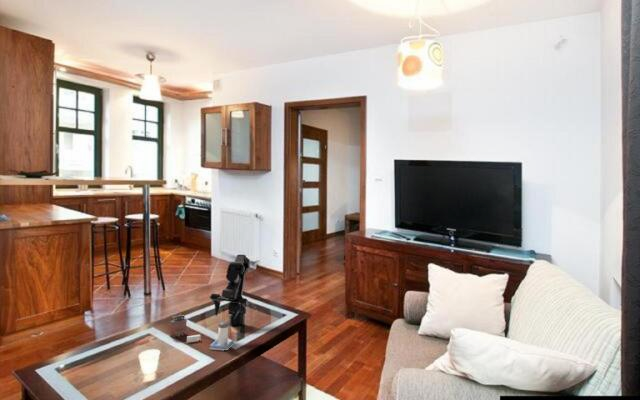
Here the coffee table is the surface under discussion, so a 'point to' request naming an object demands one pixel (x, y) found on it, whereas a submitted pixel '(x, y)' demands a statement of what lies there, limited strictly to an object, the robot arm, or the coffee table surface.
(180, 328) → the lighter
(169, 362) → the coffee table surface
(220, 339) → the white cylinder
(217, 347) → the blue bay
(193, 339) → the duct rail
